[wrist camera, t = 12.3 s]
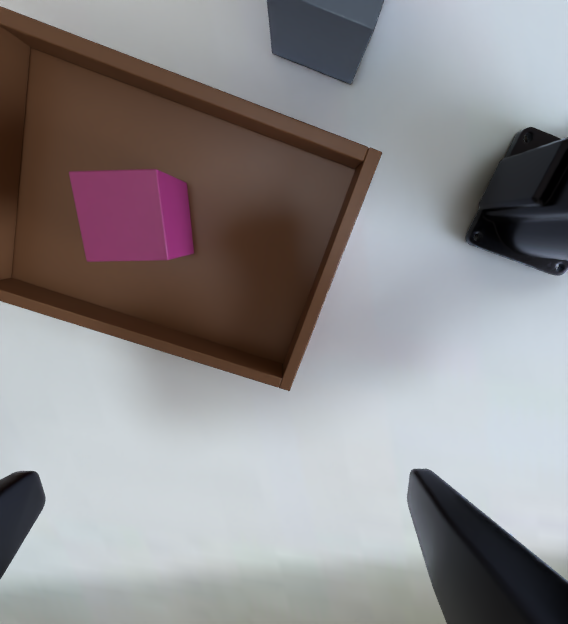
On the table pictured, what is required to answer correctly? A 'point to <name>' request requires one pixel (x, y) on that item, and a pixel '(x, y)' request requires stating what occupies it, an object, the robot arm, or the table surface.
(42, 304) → the tray
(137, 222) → the mulberry block
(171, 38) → the table surface
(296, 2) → the slate block
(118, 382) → the table surface
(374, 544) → the table surface
